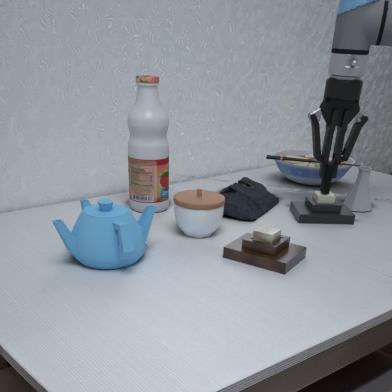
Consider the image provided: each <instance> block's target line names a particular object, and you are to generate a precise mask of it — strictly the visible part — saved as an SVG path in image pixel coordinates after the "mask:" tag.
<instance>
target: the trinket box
mask: <svg viewBox="0 0 392 392" xmlns="http://www.w3.org/2000/svg"><path fill="white" fill-rule="evenodd" d="M172 200H173V213H174V219H175V221H176V224H177V227H179V229H180V230H181V231H183V234H184V235H185V236H187V237H189V238H197V239H204V238H208V237H210V236H212V235H213V233H214V232H216V230H217V229H218V228H219V227H220V225H221V223H222V220H223V217H224V214H223V213H224V204H225V197H224V196H223V195H222V194H219V192H216V191H213V190H207V189H203V188H202V187H197V188H196V189H186V190H181V191H178V192H176V193H174V195H173V199H172Z"/></svg>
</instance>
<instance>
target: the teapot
mask: <svg viewBox="0 0 392 392" xmlns="http://www.w3.org/2000/svg"><path fill="white" fill-rule="evenodd" d="M79 202H80V208H81V212H80V213H79V215H78V217H77V219H76V220H75V223H74V225H73V227H72V230H70V229H69V228H68V226H67V225H66V224H65V222H64V220H63V219H62V218H58V219H53V220H51V221H52V224H53V226H54V228H55V230H56V232H57V234H58V235H59V237H60V239H61V241H62V243H63V245H64V247H65V248H66V250H67V251H68V252H69V253H71V255H72V256H73V257H74V258H75V259H76V260H77V261H78V262H79V263H80V264H82V265H83V266H86V267H88V268H92V269H98V270H116V269H122V268H123V269H124V268H127V267H129V266H132V265H134V264H135V263H137V262H138V261H139V260H140V259H141V257H142V256H143V255H144V253H145V251H146V242H147V241H148V237H149V233H150V230H151V226H152V223H153V220H154V216H155V213H156V212H155V209H156V207H155V206H154V205H148V206H146V208H145V209H144V211H143V212H141V214H140V216H139V218H138V219H136V217H135V215H134V214H133V213H132V211H131V210H130V209H129V208H128V207H126V206H125V205H123V204H118V203H114V200H113V199H110V198H100V199H98V200H97V201H96V202H97V203H95V204H92V203H91V202H90V200H89V199H87V198H84V199H79Z"/></svg>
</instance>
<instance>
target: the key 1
mask: <svg viewBox="0 0 392 392" xmlns="http://www.w3.org/2000/svg"><path fill="white" fill-rule="evenodd" d="M252 233H253V240H257V241H261V242H265V243H269V244H274V243H275V242H277V241H278V240H279V239H280V237H281V235H282V228H278V227H273V226H269V225H264V224H261V226H259V227H257V228H255V229H254V230H253V231H252Z"/></svg>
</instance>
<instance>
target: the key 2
mask: <svg viewBox="0 0 392 392" xmlns="http://www.w3.org/2000/svg"><path fill="white" fill-rule="evenodd" d="M312 196H313V200H314V201H315V202H316V203H331V204H334V201H335V198H336V194H334V193H333V192H332V191H331V190H330V192H329V194H323V193H322V192H321V191H320V190H314V191H313V195H312Z"/></svg>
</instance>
